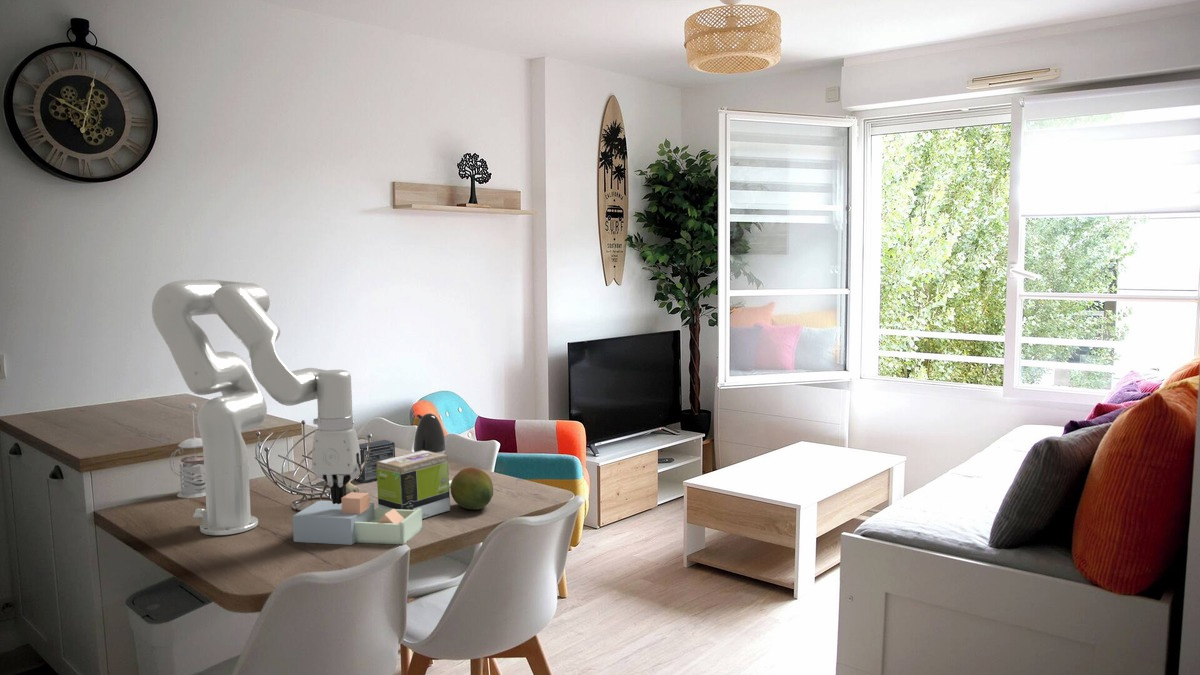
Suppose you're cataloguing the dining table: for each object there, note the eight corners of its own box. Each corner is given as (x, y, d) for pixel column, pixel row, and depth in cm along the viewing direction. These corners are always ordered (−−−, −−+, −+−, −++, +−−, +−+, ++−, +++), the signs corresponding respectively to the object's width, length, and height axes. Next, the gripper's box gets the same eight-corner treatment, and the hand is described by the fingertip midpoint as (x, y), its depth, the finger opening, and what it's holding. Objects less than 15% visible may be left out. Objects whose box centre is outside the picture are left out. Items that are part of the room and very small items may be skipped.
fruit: (478, 498, 217) (477, 461, 216) (507, 508, 208) (507, 469, 207) (441, 507, 209) (440, 469, 208) (470, 518, 200) (469, 478, 199)
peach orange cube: (384, 514, 183) (395, 525, 182) (393, 508, 187) (404, 519, 187) (372, 528, 184) (383, 538, 183) (382, 521, 188) (393, 532, 188)
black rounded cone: (430, 455, 267) (429, 409, 266) (452, 459, 261) (451, 412, 260) (406, 461, 259) (405, 414, 257) (429, 465, 253) (428, 417, 251)
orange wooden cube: (341, 512, 185) (341, 497, 185) (351, 506, 189) (350, 492, 189) (360, 513, 184) (359, 498, 184) (369, 507, 189) (368, 493, 188)
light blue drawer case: (293, 541, 183) (292, 515, 183) (320, 524, 195) (319, 500, 195) (351, 544, 181) (351, 518, 181) (374, 527, 193) (374, 503, 192)
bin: (355, 542, 183) (354, 520, 182) (376, 526, 194) (375, 506, 193) (403, 544, 181) (403, 522, 181) (422, 528, 192) (421, 508, 191)
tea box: (425, 504, 212) (424, 448, 211) (451, 511, 206) (449, 454, 204) (377, 518, 200) (375, 459, 199) (402, 526, 194) (400, 465, 193)
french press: (205, 497, 218) (201, 406, 216) (163, 497, 219) (158, 406, 216) (223, 488, 228) (219, 400, 226) (182, 487, 229) (178, 400, 226)
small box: (386, 472, 244) (385, 438, 243) (397, 477, 240) (396, 442, 239) (353, 479, 237) (352, 443, 236) (363, 483, 232) (362, 447, 231)
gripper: (296, 426, 183) (300, 506, 185) (359, 427, 181) (362, 508, 182) (313, 420, 191) (316, 496, 192) (373, 421, 188) (376, 498, 190)
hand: (338, 502), depth 187 cm, fingers closed
